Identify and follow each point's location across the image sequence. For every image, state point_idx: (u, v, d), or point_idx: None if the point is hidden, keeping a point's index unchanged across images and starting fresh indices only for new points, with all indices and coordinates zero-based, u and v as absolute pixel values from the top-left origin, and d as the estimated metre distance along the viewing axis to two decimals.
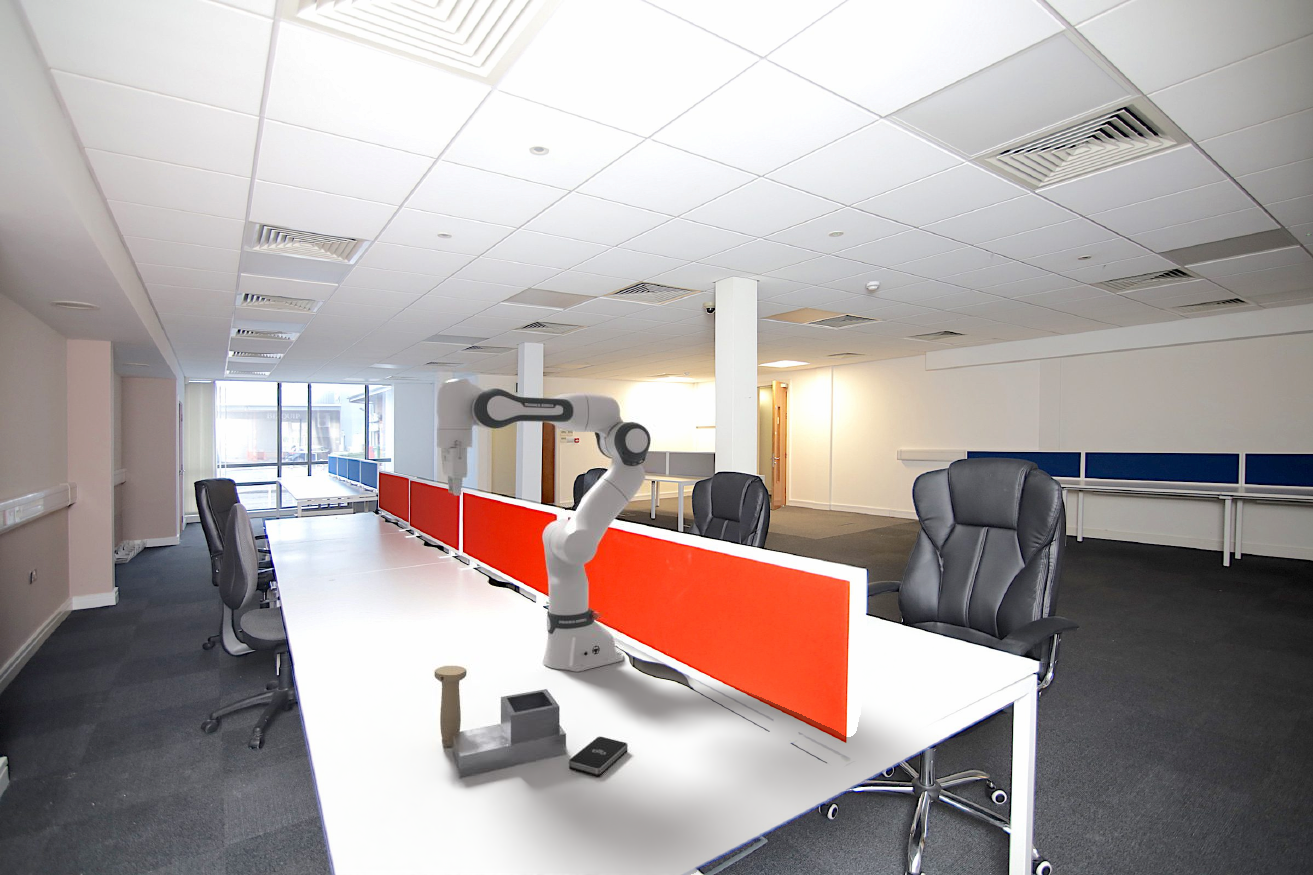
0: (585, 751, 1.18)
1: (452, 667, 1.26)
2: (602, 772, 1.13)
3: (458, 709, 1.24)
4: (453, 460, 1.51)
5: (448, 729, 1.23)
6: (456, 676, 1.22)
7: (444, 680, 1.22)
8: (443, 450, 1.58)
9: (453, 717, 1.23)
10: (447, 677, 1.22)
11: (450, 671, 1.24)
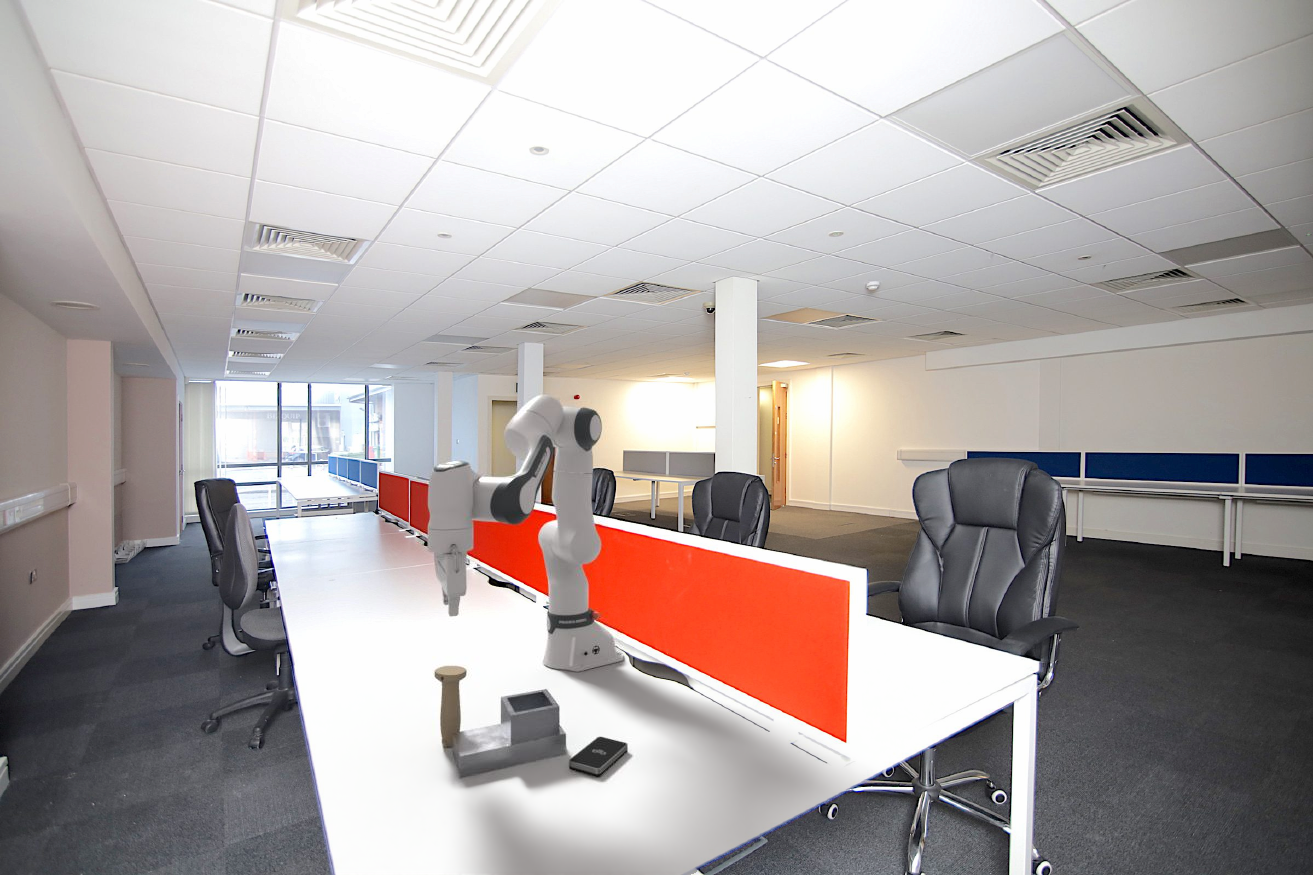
0: (585, 751, 1.18)
1: (452, 667, 1.26)
2: (602, 772, 1.13)
3: (458, 709, 1.24)
4: (448, 574, 1.16)
5: (448, 729, 1.23)
6: (456, 676, 1.22)
7: (444, 680, 1.22)
8: (436, 555, 1.23)
9: (453, 717, 1.23)
10: (447, 677, 1.22)
11: (450, 671, 1.24)
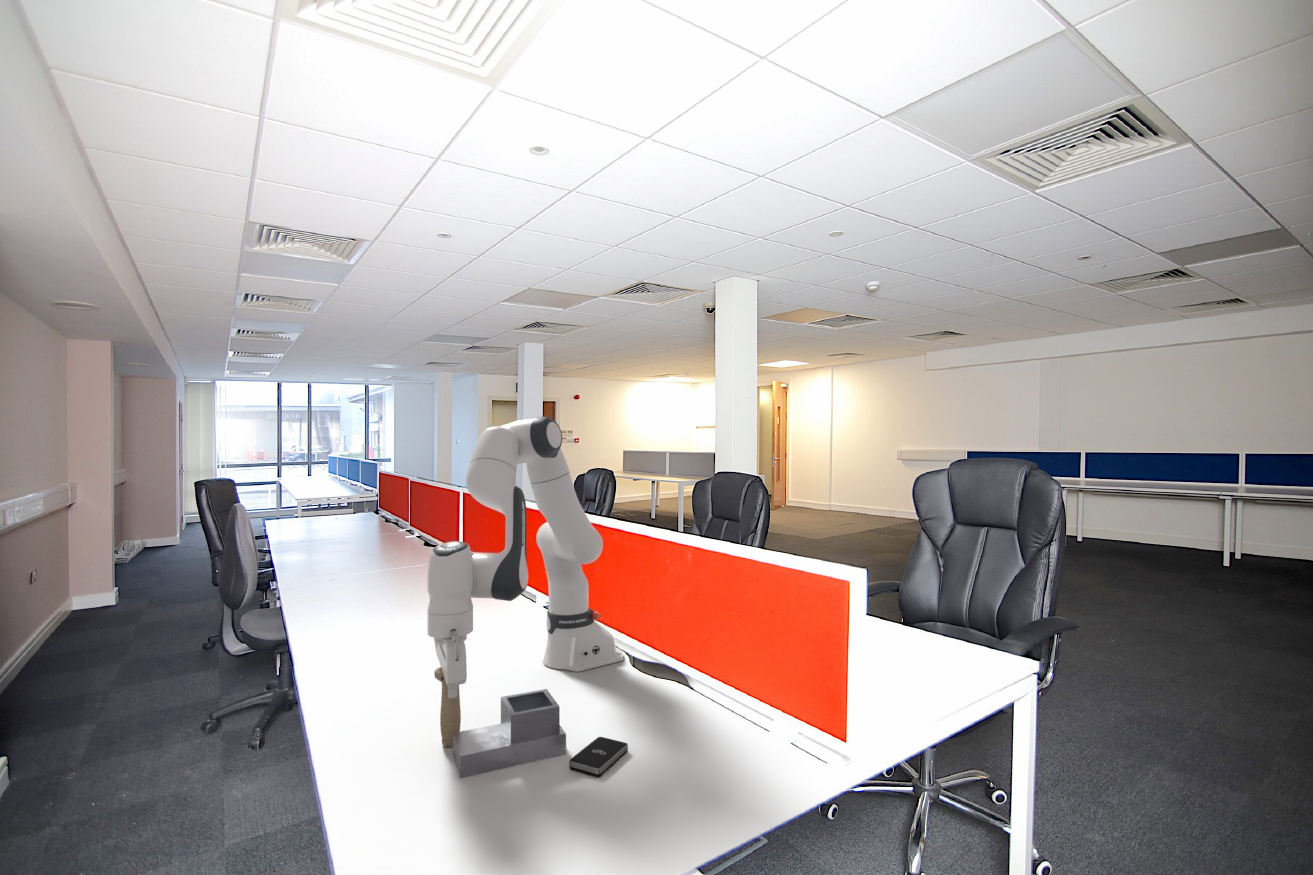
0: (585, 751, 1.18)
1: None
2: (602, 772, 1.13)
3: (458, 709, 1.24)
4: (448, 663, 1.16)
5: (448, 729, 1.23)
6: None
7: (444, 680, 1.22)
8: (435, 639, 1.23)
9: (453, 717, 1.23)
10: None
11: None
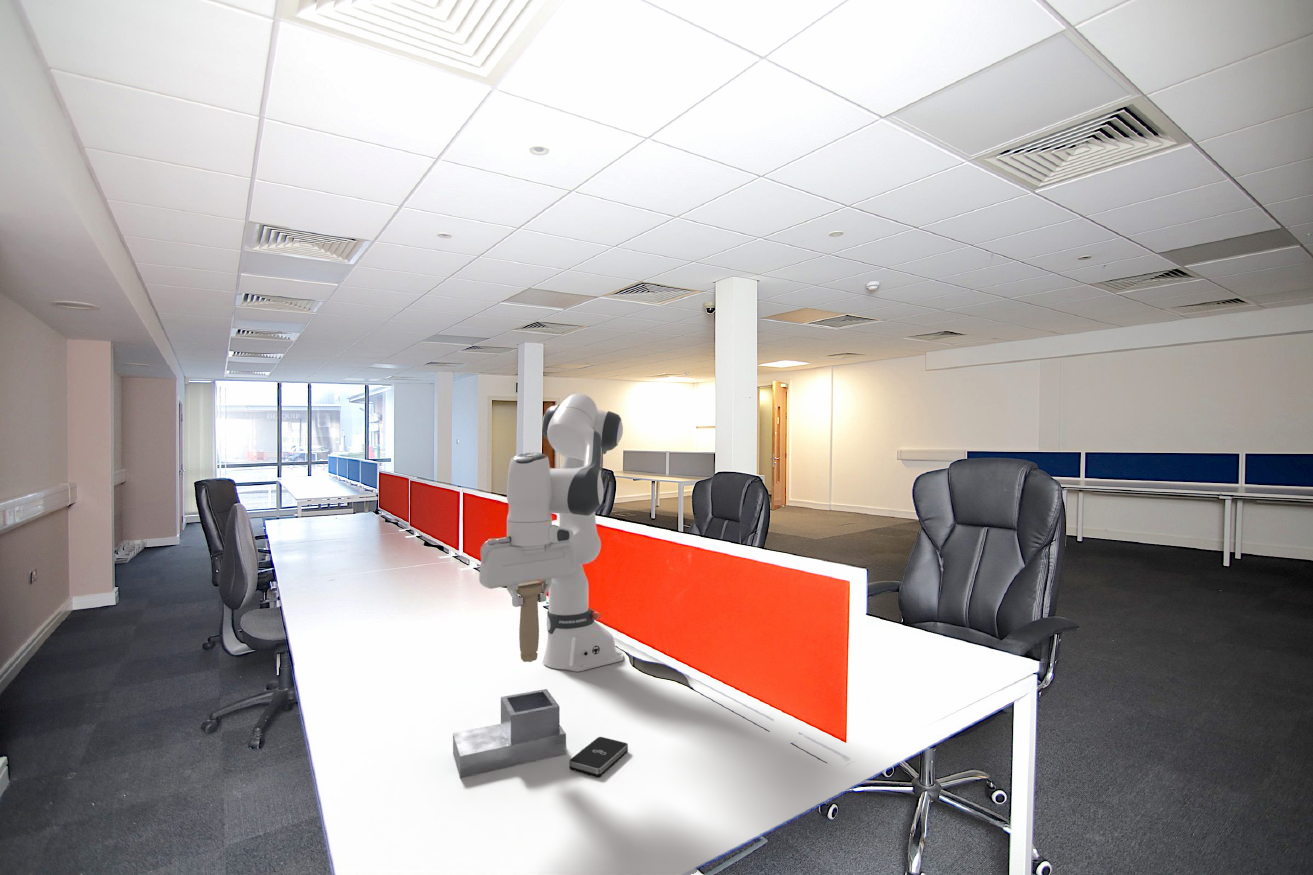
0: (585, 751, 1.18)
1: (537, 584, 1.24)
2: (602, 772, 1.13)
3: (527, 626, 1.21)
4: (481, 563, 1.18)
5: None
6: (517, 590, 1.20)
7: None
8: None
9: (521, 631, 1.21)
10: None
11: (525, 585, 1.23)
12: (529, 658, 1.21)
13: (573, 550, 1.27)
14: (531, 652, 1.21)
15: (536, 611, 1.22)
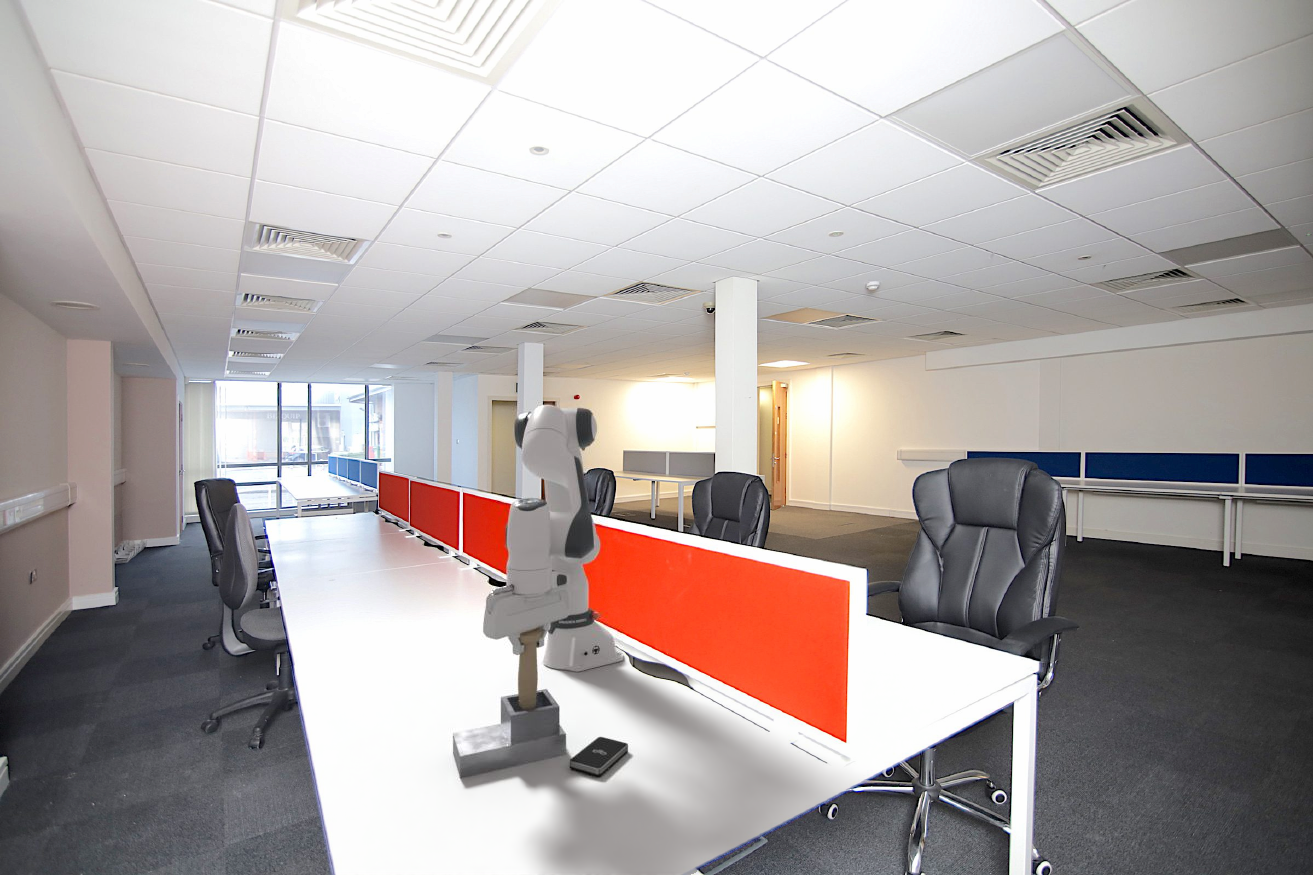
0: (585, 751, 1.18)
1: (536, 630, 1.24)
2: (602, 772, 1.13)
3: (528, 673, 1.21)
4: (484, 614, 1.16)
5: (518, 689, 1.22)
6: None
7: None
8: None
9: (522, 679, 1.21)
10: None
11: (524, 632, 1.22)
12: (529, 705, 1.21)
13: (569, 593, 1.29)
14: (531, 699, 1.21)
15: (536, 657, 1.23)
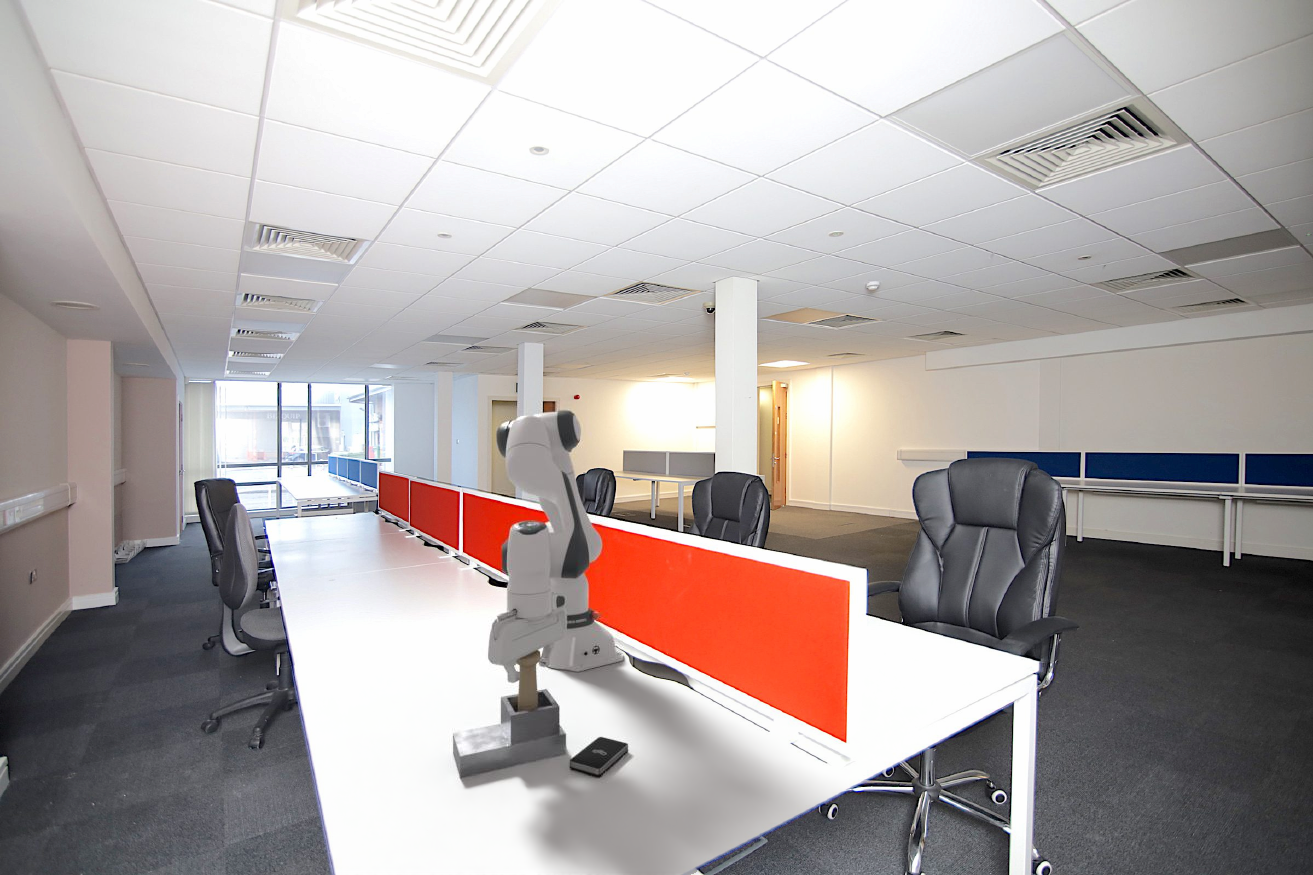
0: (586, 751, 1.18)
1: (534, 651, 1.24)
2: (602, 772, 1.13)
3: (529, 695, 1.21)
4: (489, 640, 1.15)
5: None
6: (520, 661, 1.20)
7: None
8: None
9: (523, 702, 1.21)
10: None
11: None
12: None
13: (566, 614, 1.30)
14: None
15: (536, 679, 1.23)
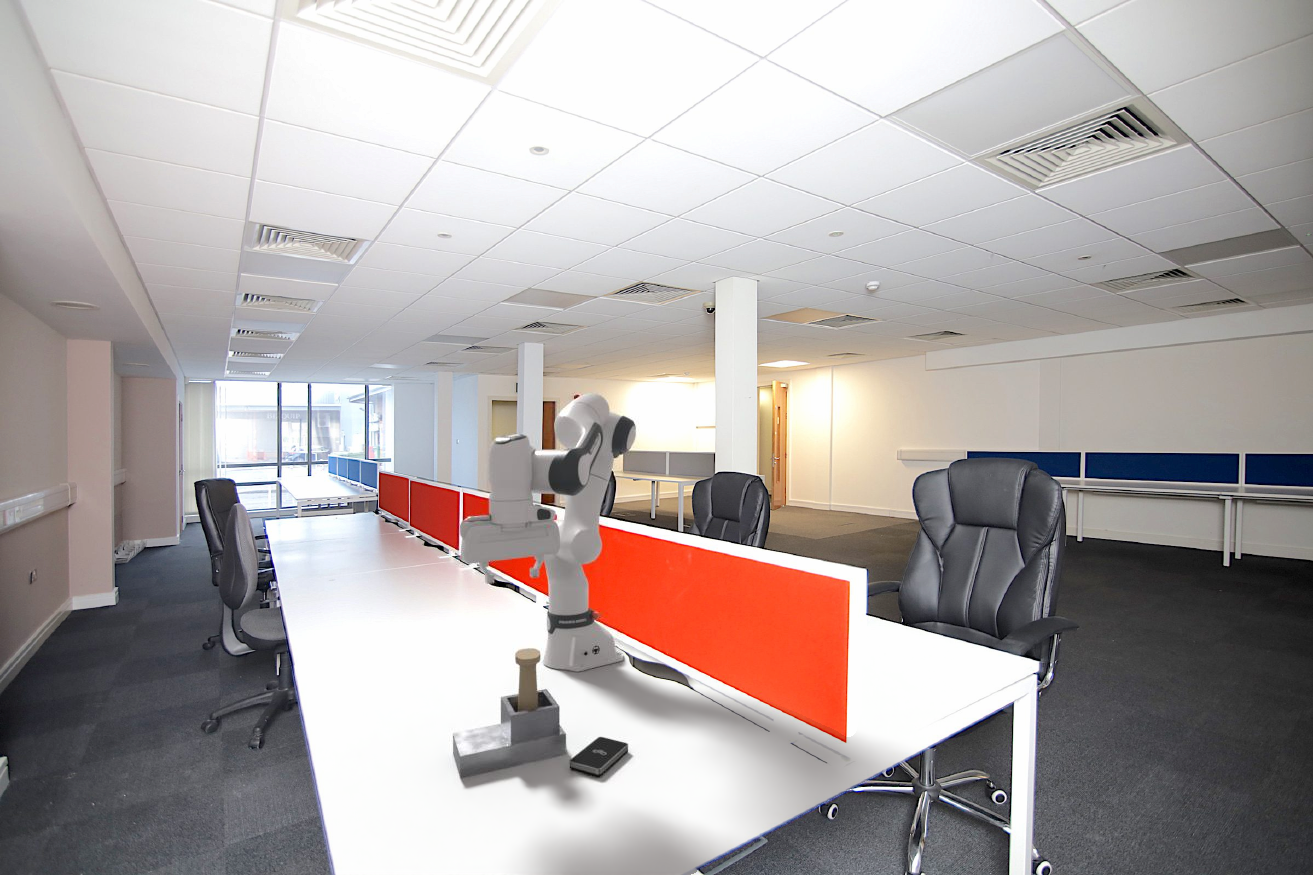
0: (586, 751, 1.18)
1: (534, 651, 1.24)
2: (602, 772, 1.13)
3: (529, 695, 1.21)
4: None
5: None
6: (520, 661, 1.20)
7: None
8: None
9: (523, 702, 1.21)
10: (516, 659, 1.21)
11: (524, 654, 1.22)
12: None
13: (556, 529, 1.30)
14: None
15: (536, 679, 1.23)
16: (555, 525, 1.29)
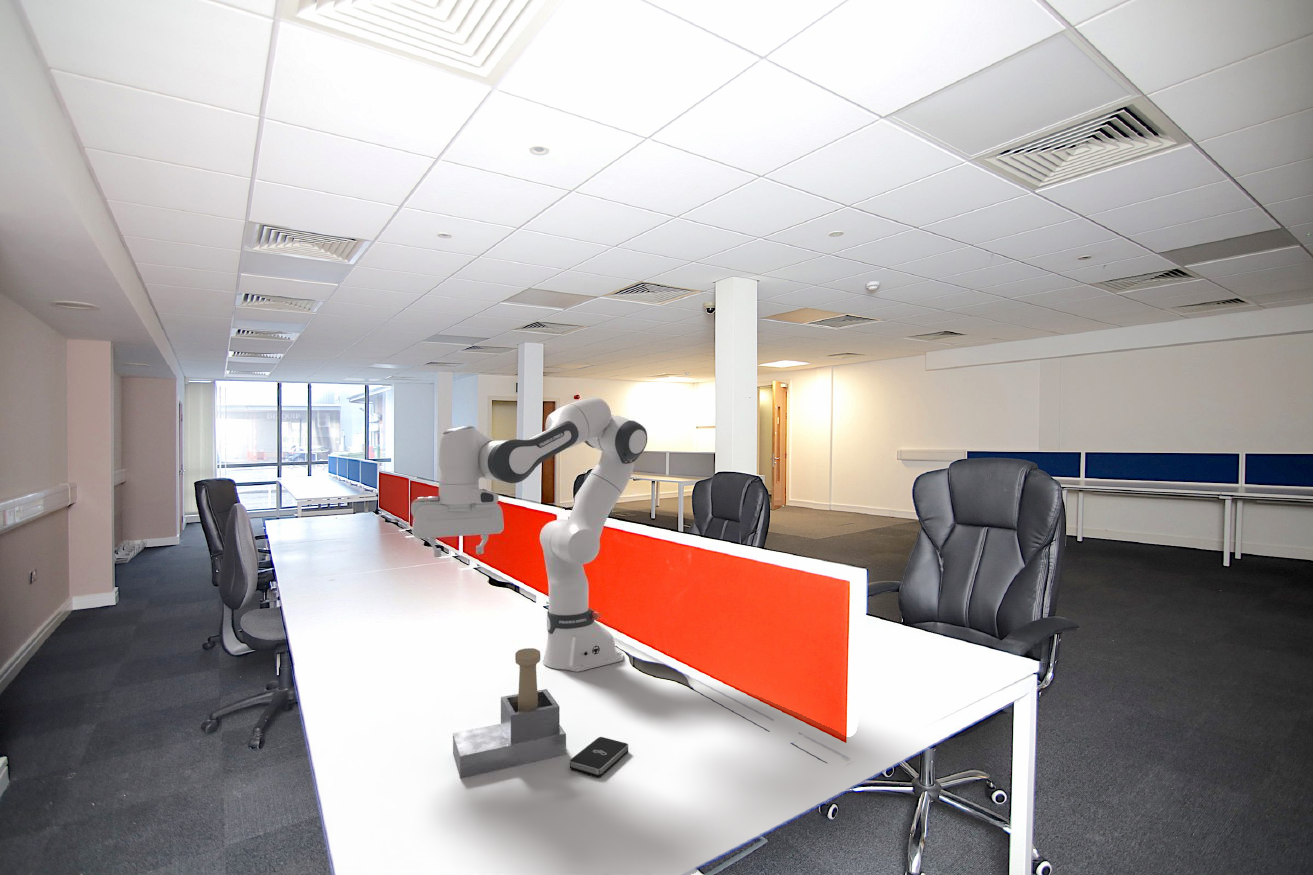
0: (586, 751, 1.18)
1: (534, 651, 1.24)
2: (603, 772, 1.13)
3: (529, 695, 1.21)
4: None
5: None
6: (520, 661, 1.20)
7: None
8: None
9: (523, 702, 1.21)
10: (516, 659, 1.21)
11: (524, 654, 1.22)
12: None
13: (500, 511, 1.45)
14: None
15: (536, 679, 1.23)
16: (498, 508, 1.45)
